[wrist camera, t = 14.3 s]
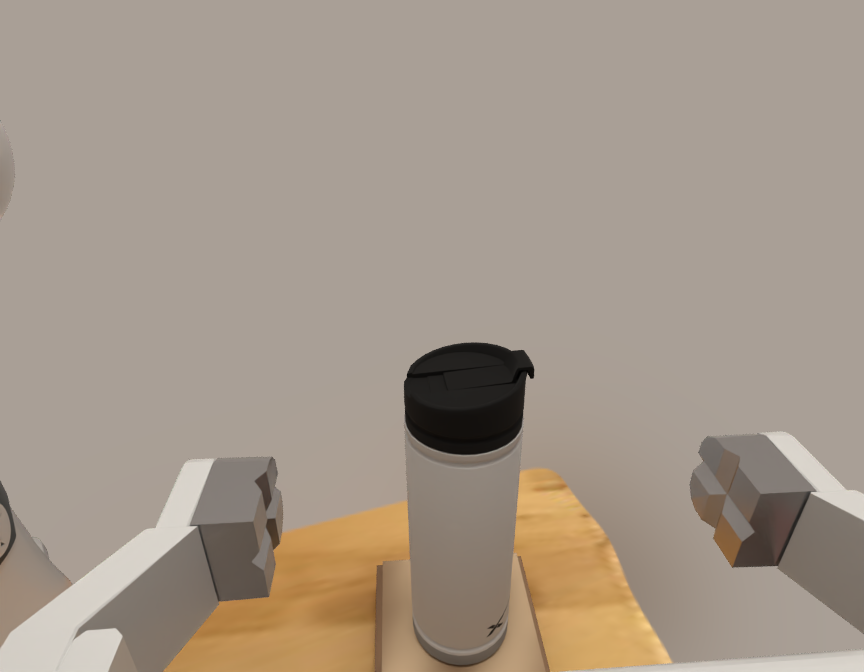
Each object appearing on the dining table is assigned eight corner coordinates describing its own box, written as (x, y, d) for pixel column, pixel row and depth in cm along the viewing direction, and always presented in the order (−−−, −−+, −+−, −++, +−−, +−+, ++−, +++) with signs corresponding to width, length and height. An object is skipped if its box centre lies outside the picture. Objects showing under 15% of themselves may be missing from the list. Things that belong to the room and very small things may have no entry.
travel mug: (523, 659, 35) (551, 391, 26) (418, 673, 35) (407, 404, 25) (500, 575, 41) (516, 329, 31) (408, 586, 40) (397, 337, 31)
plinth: (376, 748, 35) (372, 711, 33) (379, 592, 44) (376, 556, 43) (554, 733, 35) (560, 696, 33) (518, 582, 45) (521, 547, 43)
